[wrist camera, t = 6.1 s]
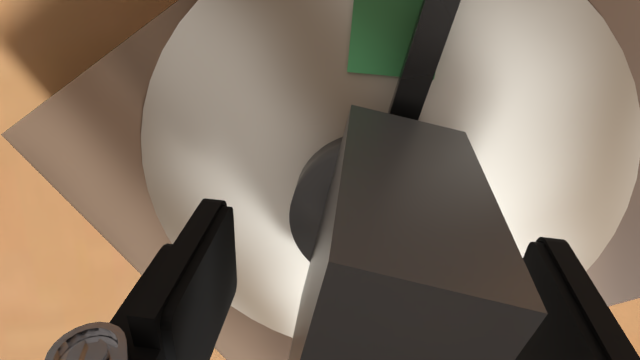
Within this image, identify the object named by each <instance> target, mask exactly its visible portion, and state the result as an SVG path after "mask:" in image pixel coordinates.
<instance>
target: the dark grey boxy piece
mask: <svg viewBox="0 0 640 360" xmlns="http://www.w3.org/2000/svg"><path fill="white" fill-rule="evenodd" d="M460 1H461V0H423V2H422V5H421V8H420V11H419V14H418V18H417V21H416V24H415V27H414V30H413V34H412V37H411V40H410V43H409V46H408V50H407V53H406V56H405V59H404V63H403V66H402V69H401V72H400V75H399V79H398V82H397V85H396V88H395V91H394V95H393V98H392V101H391V104H390V107H389V111H388V113H385V112H380V111H376V110H372V109H368V108H364V107H360V106H355V105H351V108H350V111H349V115H348V119H347V123H346V127H345V131H344V134H343V137H340V138H338V139H336V140H334V141H332V142H330V143H328V144H327V145H325V146H323V147H322V148H321V149H320V150H318V151H317V152H316V153H315V154H314V155H313V156H312V157H311V158H310V159H309V160H308V162H307V163H306V165H305V166H304V168H303V170H302V172H301V174H300V176H299V179H298V182H297V185H296V188H295V191H294V195H293V198H292V201H291V205H290V212H289V223H290V229H291V233H292V236H293V239H294V241H295V243H296V245H297V247H298V248H299V250H300V251H301V253H302V254H303V255H304V256H305V258H306V259H307V260H308V261H309V262H310V265H309V269H308V272H307V276H306V280H305V284H304V288H303V292H302V296H301V301H300V305H299V310H298V315H297V320H296V325H295V330H294V335H293V339H292V344H291V349H290V354H289V359H288V360H515V359H516V357H517V356H518V355H519V353H520V352H521V350H522V349H523V348H524V346H525V345H526V343H527V342H528V341H529V339H530V338H531V337H532V335H533V334H534V332H535V331H536V330H537V328H538V327H539V325H540V324H541V323H542V321H543V320H544V318H545V317H546V316H547V314H548V313H547V311H546V309H545V306H544V304H543V302H542V300H541V298H540V295H539V293H538V291H537V289H536V287H535V284H534V282H533V280H532V278H531V276H530V273H529V271H528V269H527V267H526V265H525V262H524V260H523V258H522V256H521V253H520V251H519V249H518V247H517V245H516V242H515V240H514V238H513V236H512V234H511V231H510V229H509V227H508V225H507V223H506V220H505V218H504V216H503V214H502V212H501V209H500V207H499V205H498V203H497V201H496V198H495V196H494V194H493V192H492V190H491V187H490V185H489V183H488V181H487V178H486V176H485V174H484V172H483V170H482V167H481V165H480V163H479V161H478V159H477V156H476V154H475V152H474V150H473V148H472V145H471V143H470V141H469V139H468V137H467V134H466V132H463V131H459V130H455V129H451V128H447V127H443V126H439V125H434V124H430V123H426V122H422V121H418V119H419V116H420V114H421V111H422V108H423V105H424V102H425V100H426V97H427V94H428V91H429V88H430V86H431V83H432V80H433V77H434V74H435V72H436V69H437V66H438V63H439V60H440V58H441V55H442V52H443V49H444V46H445V43H446V41H447V38H448V35H449V32H450V29H451V27H452V24H453V21H454V18H455V15H456V13H457V10H458V7H459V4H460Z"/></svg>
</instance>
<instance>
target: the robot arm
mask: <svg viewBox="0 0 640 360" xmlns="http://www.w3.org/2000/svg"><path fill="white" fill-rule="evenodd" d="M523 260H524V262H525V265H526V267H527V269H528V271H529V273H530V276H531V278H532V280H533V282H534V284H535V287H536V289H537V291H538V293H539V295H540V298H541V300H542V302H543V304H544V306H545V309H546V311H547V313H548V314H547V316H546V317H545V318H544V320H543V321H542V323H541V324H540V325H539V327H538V328H537V330H536V331H535V332H534V334H533V335H532V337H531V338H530V339H529V341H528V342H527V343H526V345H525V346H524V348H523V349H522V350H521V352H520V353H519V355H518V356H517V357H516V359H515V360H640V357H639V356H638V354H637V352H636V351H635V349H634V348H633V346H632V344H631V343H630V341H629V340H628V338H627V336H626V335H625V333H624V332H623V330H622V328H621V327H620V325H619V324H618V322H617V320H616V319H615V317H614V316H613V314H612V312H611V311H610V309H609V308H608V306H607V304H606V303H605V301H604V300H603V298H602V296H601V295H600V293H599V292H598V290H597V288H596V287H595V285H594V284H593V282H592V280H591V279H590V277H589V275H588V274H587V272H586V271H585V269H584V267H583V266H582V264H581V263H580V261H579V259H578V258H577V256H576V255H575V253H574V251H573V250H572V248H571V247H570V245H569V243H568V242H567V241H566V240H564V239H556V238H547V237H539V238H538V239H537V240H536V242H530V243H529V245H528V247H527V249H526V252H525V254H524V257H523ZM236 288H237V268H236V250H235V232H234V215H233V208H232V207H229V206H227V204H226V201H224V200H216V199H207V198H204V199H202V201H201V202H200V204H199V205H198V207H197V208H196V210H195V211H194V213H193V214H192V216H191V217H190V219H189V220H188V222H187V223H186V225H185V226H184V228H183V229H182V231H181V233H180V234H179V236H178V237H177V239H176V240H175V242H174V243H173V244H168V243H167V244H165V245H163V246H162V247H161V248H160V250H159V251H158V253H157V254H156V256H155V257H154V259H153V260H152V261H151V263H150V264H149V266H148V267H147V269H146V270H145V272H144V273H143V275H142V276H141V277H140V279H139V280H138V282H137V283H136V285H135V286H134V288H133V289H132V291H131V292H130V293H129V295H128V296H127V298H126V299H125V301H124V302H123V304H122V305H121V307H120V308H119V310H118V311H117V312H116V314H115V315H114V317H113V318H112V320H111V321H110V323H106V322H96V323H89V324H85V325H82V326H80V327H77V328H75V329H73V330H71V331H69V332H68V333H66V334H64V335H63V336H62V337H61V338H60V339H58V340H57V341H56V342H55V343H54V344H53V346H52V347H51V348H50V350H49V351H48V353H47V355H46V358H45V360H210V357H211V355H212V352H213V350H214V347H215V344H216V342H217V339H218V337H219V334H220V332H221V329H222V327H223V324H224V321H225V319H226V316H227V314H228V311H229V309H230V306H231V304H232V301H233V298H234V296H235V293H236Z"/></svg>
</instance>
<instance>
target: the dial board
mask: <svg viewBox="0 0 640 360" xmlns="http://www.w3.org/2000/svg"><path fill="white" fill-rule="evenodd" d="M422 2H423V0H178V1H177V2H175V3H174V4H173V5H171V6H170V7H169V8H167V9H166V10H165V11H163V12H162V13H161V14H159V15H158V16H157V17H155V18H154V19H153V20H152V21H150V22H149V23H148V24H146V25H145V26H144V27H142V28H141V29H140V30H138V31H137V32H136V33H134V34H133V35H132V36H130V37H129V38H128V39H126V40H125V41H124V42H123V43H121V44H120V45H119V46H117V47H116V48H115V49H113V50H112V51H111V52H109V53H108V54H107V55H105V56H104V57H103V58H101V59H100V60H99V61H97V62H96V63H95V64H94V65H92V66H91V67H90V68H88V69H87V70H86V71H84V72H83V73H82V74H80V75H79V76H78V77H76V78H75V79H74V80H72V81H71V82H70V83H68V84H67V85H66V86H64V87H63V88H62V89H61V90H59V91H58V92H57V93H55V94H54V95H53V96H51V97H50V98H49V99H47V100H46V101H45V102H43V103H42V104H41V105H39V106H38V107H37V108H35V109H34V110H33V111H32V112H30V113H29V114H28V115H26V116H25V117H24V118H22V119H21V120H20V121H18V122H17V123H16V124H14V125H13V126H12V127H10V128H9V129H8V130H6V131H5V132H4V133H2V134H1V135H2V136H3V137H4V138H5V139H6V140H7V141H8V142H9V143H10V144H11V145H12V146H13V147H14V148H15V149H16V150H17V151H18V152H19V153H20V154H21V155H22V156H23V157H24V158H25V159H26V160H27V161H28V162H29V163H30V164H31V165H32V166H33V167H34V168H35V169H36V170H37V171H38V172H39V173H40V174H41V175H42V176H43V177H44V178H45V179H46V180H47V181H48V182H49V183H50V184H51V185H52V186H53V187H54V188H55V189H56V190H57V191H58V192H59V193H60V194H61V195H62V196H63V197H64V198H65V199H66V200H67V201H68V202H69V203H70V204H71V205H72V206H73V207H74V208H75V209H76V210H77V211H78V212H79V213H80V214H81V215H82V216H83V217H84V218H85V219H86V220H87V221H88V222H89V223H90V224H91V225H92V226H93V227H94V228H95V229H96V230H97V231H98V232H99V233H100V234H101V235H102V236H103V237H104V238H105V239H106V240H107V241H108V242H109V243H110V244H111V245H112V246H113V247H114V248H115V249H116V250H117V251H118V252H119V253H120V254H121V255H122V256H123V257H124V258H125V259H126V260H127V261H128V262H129V263H130V264H131V265H132V266H133V267H134V268H135V269H136V270H137V271H138V272H139V273H140V274H141V275H143V273H144V272H145V270H146V269H147V267H148V266H149V264H150V263H151V261H152V260H153V259H154V257H155V256H156V254H157V253H158V251H159V250H160V248H161V247H162V246H163V245H165V244H167V243H168V244H173V243H174V242H175V240H176V239H177V237H178V236H179V234H180V233H181V231H182V229H183V228H184V226H185V225H186V223H187V222H188V220H189V219H190V217H191V216H192V214H193V213H194V211H195V210H196V208H197V207H198V205H199V204H200V202H201V201H202V199H204V198H207V199H216V200H224V201H226V204H227V206H229V207H232V208H233V215H234V232H235V250H236V268H237V288H236V293H235V296H234V298H233V301H232V304H231V306H230V309H229V311H228V314H227V316H226V319H225V321H224V324H223V327H222V329H221V332H220V334H219V337H218V339H217V342H216V344H215V347H214V348H215V349H216V350H217V351H218V352H219V353H220V354H221V355H222V356H223V357H224V358H225V359H226V360H288V359H289V354H290V349H291V344H292V339H293V335H294V330H295V325H296V320H297V315H298V310H299V305H300V301H301V296H302V292H303V288H304V284H305V280H306V276H307V272H308V269H309V265H310V262H309V261H308V260H307V259H306V258H305V256H304V255H303V254H302V253H301V251H300V250H299V248H298V247H297V245H296V243H295V241H294V239H293V236H292V233H291V229H290V223H289V212H290V205H291V201H292V198H293V195H294V191H295V188H296V185H297V182H298V179H299V176H300V174H301V172H302V170H303V168H304V166H305V165H306V163H307V162H308V160H309V159H310V158H311V157H312V156H313V155H314V154H315V153H316V152H317V151H318V150H320V149H321V148H322V147H323V146H325V145H327V144H328V143H330V142H332V141H334V140H336V139H338V138H340V137H343V134H344V131H345V127H346V123H347V119H348V115H349V111H350V108H351V105H355V106H360V107H364V108H368V109H372V110H376V111H380V112H385V113H388V111H389V107H390V104H391V101H392V98H393V95H394V91H395V88H396V85H397V82H398V79H399V75H400V72H401V69H402V66H403V63H404V59H405V56H406V53H407V50H408V46H409V43H410V40H411V37H412V34H413V30H414V27H415V24H416V21H417V18H418V14H419V11H420V8H421V5H422ZM418 121H422V122H426V123H430V124H434V125H439V126H443V127H447V128H451V129H455V130H459V131H463V132H466V134H467V137H468V139H469V141H470V143H471V145H472V148H473V150H474V152H475V154H476V156H477V159H478V161H479V163H480V165H481V167H482V170H483V172H484V174H485V176H486V178H487V181H488V183H489V185H490V187H491V190H492V192H493V194H494V196H495V198H496V201H497V203H498V205H499V207H500V209H501V212H502V214H503V216H504V218H505V220H506V223H507V225H508V227H509V229H510V231H511V234H512V236H513V238H514V240H515V242H516V245H517V247H518V249H519V251H520V253H521V256H522V258H523V257H524V254H525V252H526V249H527V247H528V245H529V243H530V242H536V240H537V239H538V238H539V237H547V238H556V239H564V240H566V241H567V242H568V243H569V245H570V247H571V248H572V250H573V251H574V253H575V255H576V256H577V258H578V259H579V261H580V263H581V264H582V266H583V267H584V269H585V271H586V272H587V274H588V275H589V277H590V279H591V280H592V282H593V284H594V285H595V287H596V288H597V290H598V292H599V293H600V295H601V296H602V298H603V300H604V301H605V303H606V304H607V306H612V305H615V304H619V303H622V302H626V301H630V300H633V299H637V298H640V0H461V1H460V4H459V7H458V10H457V13H456V15H455V18H454V21H453V24H452V27H451V29H450V32H449V35H448V38H447V41H446V43H445V46H444V49H443V52H442V55H441V58H440V60H439V63H438V66H437V69H436V72H435V74H434V77H433V80H432V83H431V86H430V88H429V91H428V94H427V97H426V100H425V102H424V105H423V108H422V111H421V114H420V116H419V119H418Z"/></svg>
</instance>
